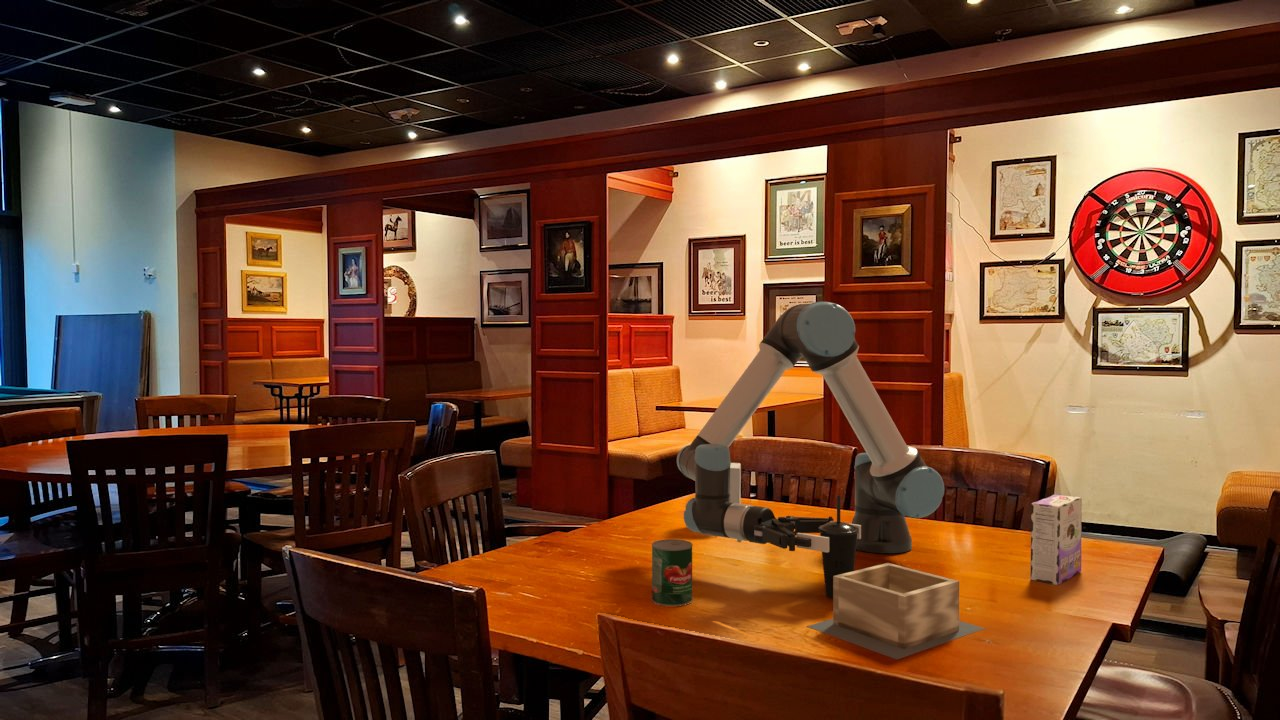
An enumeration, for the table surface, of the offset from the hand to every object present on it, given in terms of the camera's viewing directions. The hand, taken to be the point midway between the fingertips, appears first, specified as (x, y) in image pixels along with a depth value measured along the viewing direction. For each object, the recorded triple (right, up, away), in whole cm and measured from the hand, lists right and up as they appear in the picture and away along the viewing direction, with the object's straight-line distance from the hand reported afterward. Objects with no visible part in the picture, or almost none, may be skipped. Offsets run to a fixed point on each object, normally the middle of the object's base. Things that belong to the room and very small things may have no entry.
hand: (845, 538), depth 163 cm
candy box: (+49, -12, +16) cm, 53 cm away
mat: (+5, -12, -17) cm, 21 cm away
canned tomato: (-33, -12, 0) cm, 36 cm away
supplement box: (-17, -11, +65) cm, 68 cm away
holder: (+5, -12, -17) cm, 21 cm away
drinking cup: (-1, -12, +2) cm, 12 cm away
